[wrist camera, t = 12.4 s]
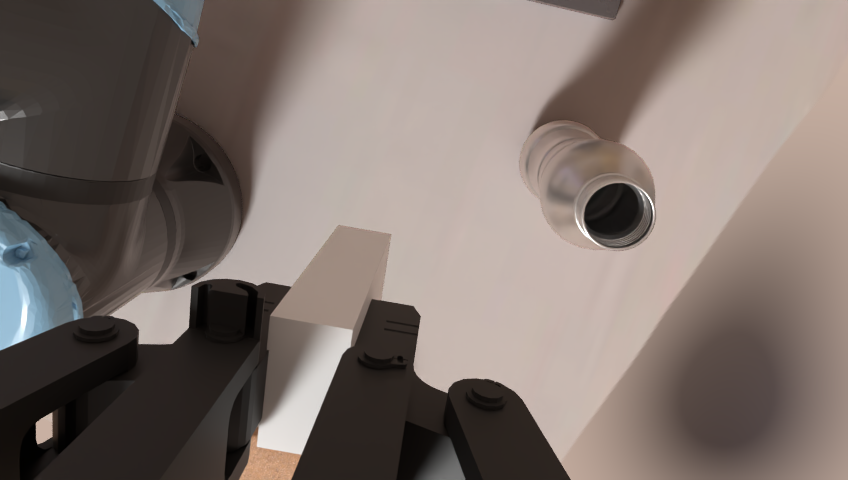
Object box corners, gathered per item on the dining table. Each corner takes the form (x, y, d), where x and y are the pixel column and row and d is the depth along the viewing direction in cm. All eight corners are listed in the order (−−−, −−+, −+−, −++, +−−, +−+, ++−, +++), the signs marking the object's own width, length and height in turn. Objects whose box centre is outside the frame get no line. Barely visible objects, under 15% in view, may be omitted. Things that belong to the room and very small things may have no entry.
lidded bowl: (323, 516, 60) (292, 612, 49) (204, 461, 59) (147, 546, 49) (378, 415, 57) (358, 495, 46) (253, 355, 56) (204, 422, 45)
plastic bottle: (551, 100, 48) (608, 120, 29) (617, 152, 49) (717, 205, 30) (499, 166, 50) (522, 226, 31) (565, 215, 51) (626, 304, 31)
